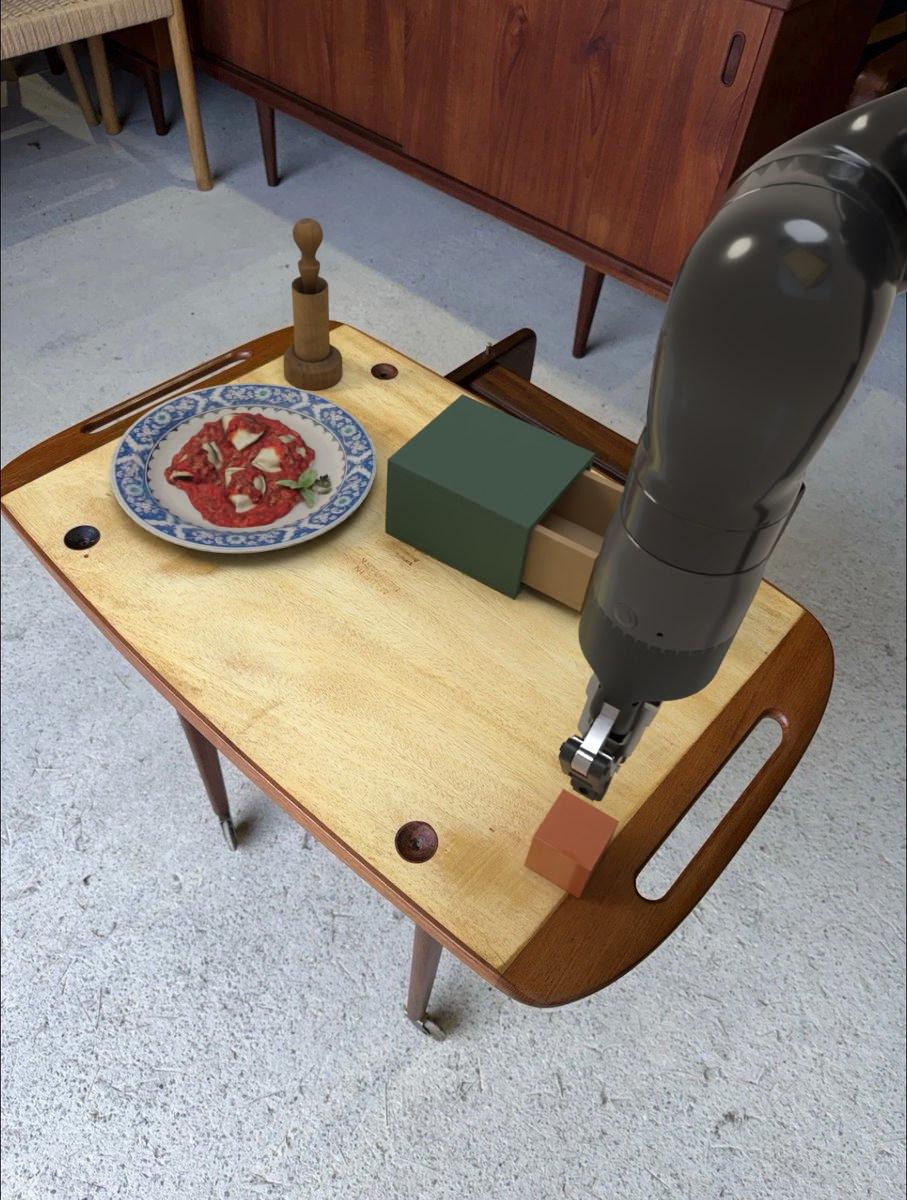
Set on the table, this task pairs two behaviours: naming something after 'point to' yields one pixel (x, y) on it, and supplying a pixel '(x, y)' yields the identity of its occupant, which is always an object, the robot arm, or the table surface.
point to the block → (570, 843)
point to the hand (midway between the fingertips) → (599, 770)
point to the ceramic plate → (243, 468)
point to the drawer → (571, 540)
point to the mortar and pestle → (311, 318)
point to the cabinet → (478, 490)
